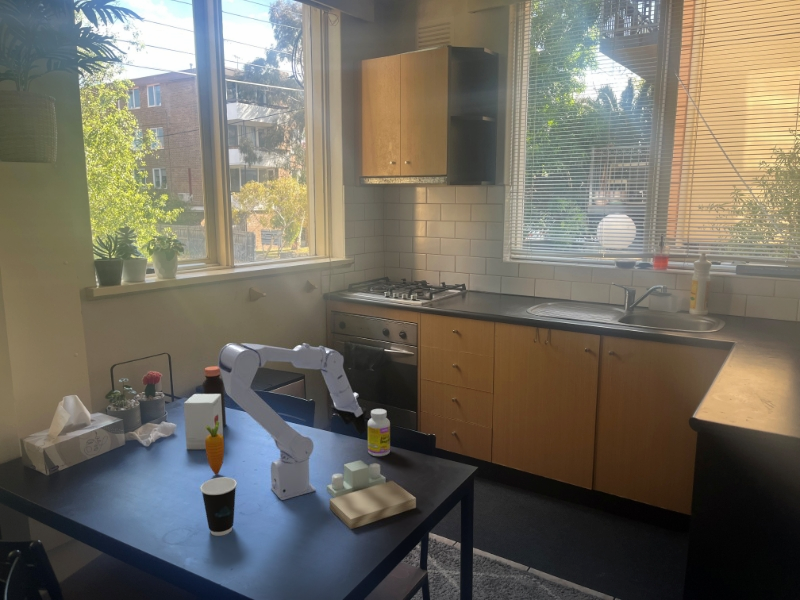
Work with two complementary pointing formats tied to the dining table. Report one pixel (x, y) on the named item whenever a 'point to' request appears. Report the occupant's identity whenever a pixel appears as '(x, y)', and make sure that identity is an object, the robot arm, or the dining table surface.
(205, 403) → the supplement box
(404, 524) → the dining table surface
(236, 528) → the dining table surface
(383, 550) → the dining table surface
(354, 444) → the dining table surface
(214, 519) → the dixie cup
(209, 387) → the vinegar
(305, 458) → the robot arm
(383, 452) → the supplement bottle
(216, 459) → the carrot
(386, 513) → the shelf board
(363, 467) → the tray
